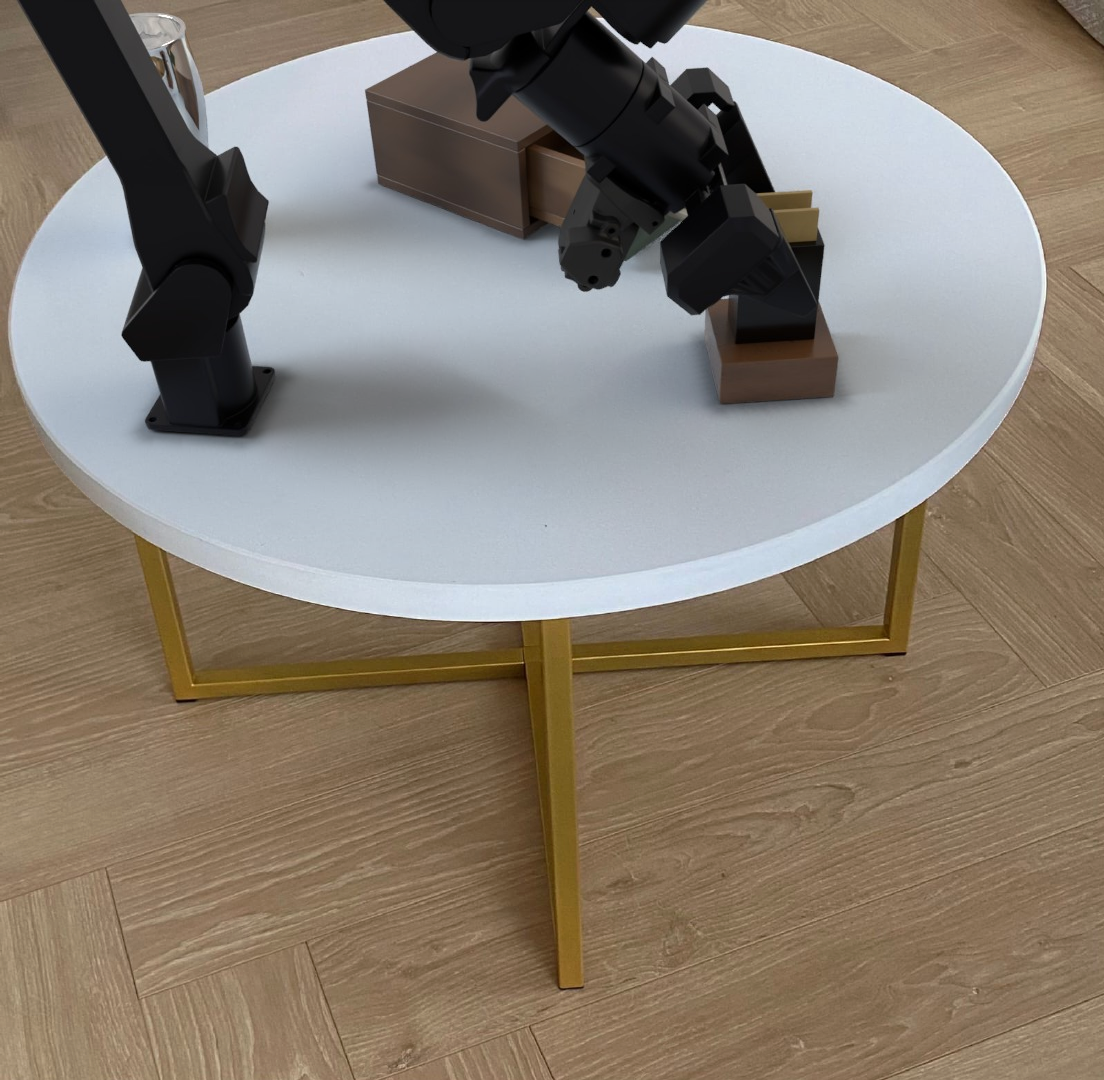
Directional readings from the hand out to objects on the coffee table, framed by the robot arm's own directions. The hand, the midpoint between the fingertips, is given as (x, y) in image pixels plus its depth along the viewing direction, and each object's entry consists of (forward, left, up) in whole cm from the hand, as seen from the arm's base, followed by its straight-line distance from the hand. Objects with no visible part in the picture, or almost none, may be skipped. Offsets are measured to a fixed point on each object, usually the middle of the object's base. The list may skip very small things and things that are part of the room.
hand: (795, 267), depth 80 cm
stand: (0, +1, -7) cm, 7 cm away
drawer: (+17, +12, -6) cm, 22 cm away
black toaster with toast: (0, +1, -4) cm, 4 cm away
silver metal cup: (+13, +44, -7) cm, 47 cm away
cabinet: (+23, +22, -7) cm, 33 cm away
